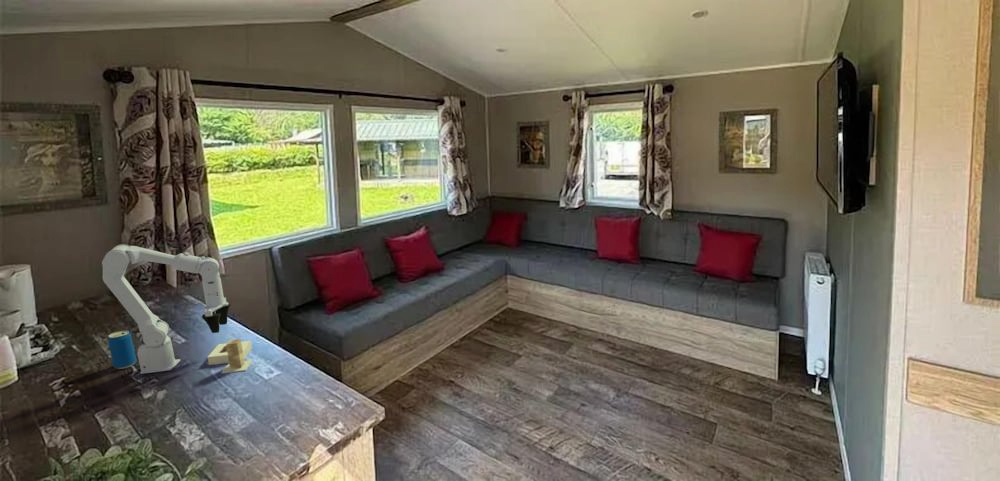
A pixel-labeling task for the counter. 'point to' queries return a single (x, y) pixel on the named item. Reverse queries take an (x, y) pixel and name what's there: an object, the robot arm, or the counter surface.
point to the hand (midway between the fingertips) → (219, 328)
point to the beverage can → (122, 349)
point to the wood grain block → (235, 353)
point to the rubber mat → (244, 368)
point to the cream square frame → (221, 358)
